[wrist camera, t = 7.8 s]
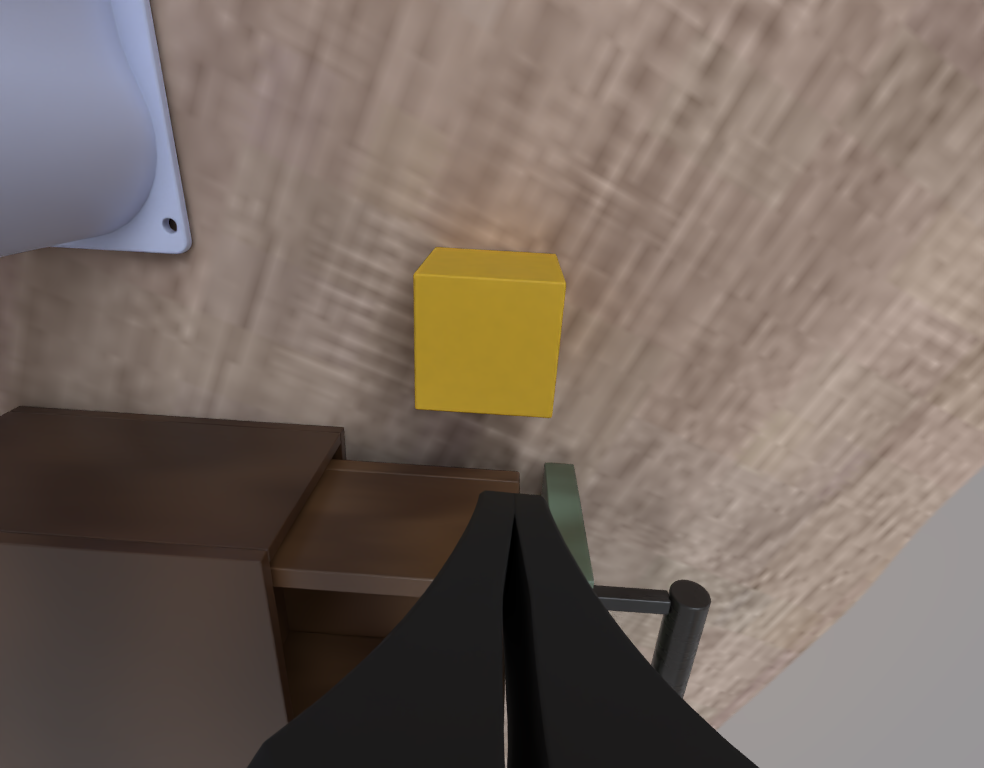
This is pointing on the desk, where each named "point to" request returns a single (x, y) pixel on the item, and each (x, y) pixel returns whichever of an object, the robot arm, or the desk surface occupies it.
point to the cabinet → (145, 585)
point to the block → (487, 331)
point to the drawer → (422, 566)
